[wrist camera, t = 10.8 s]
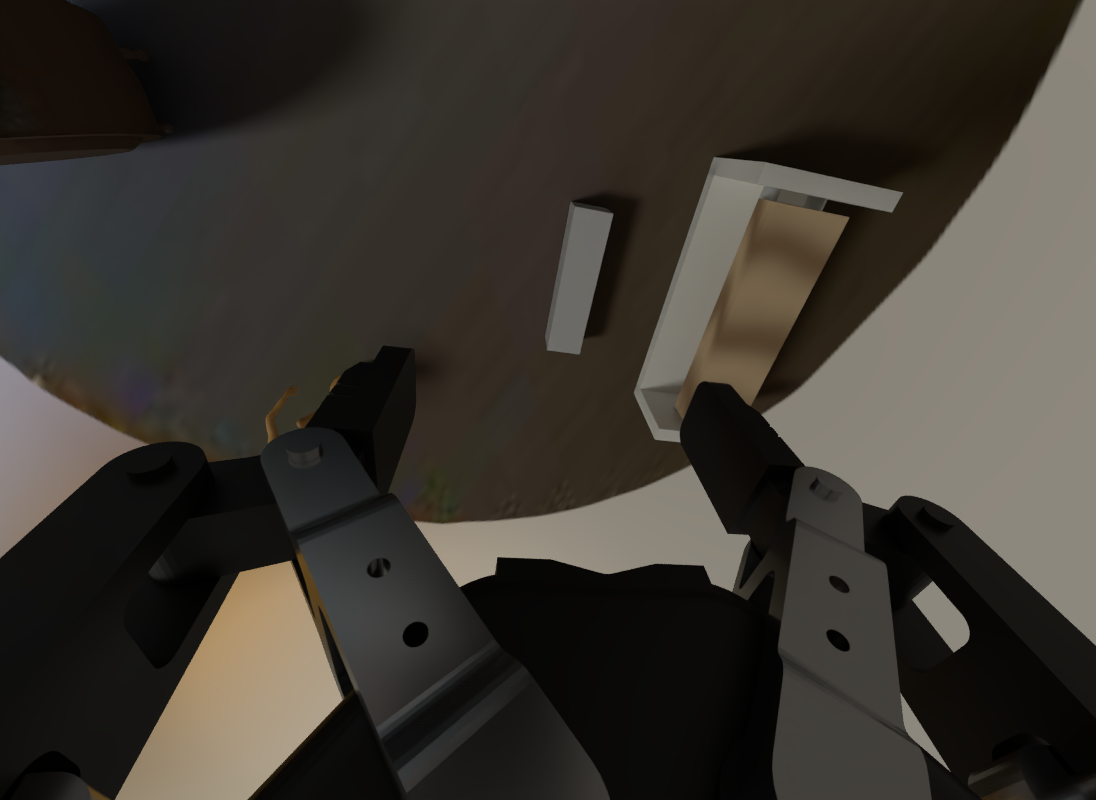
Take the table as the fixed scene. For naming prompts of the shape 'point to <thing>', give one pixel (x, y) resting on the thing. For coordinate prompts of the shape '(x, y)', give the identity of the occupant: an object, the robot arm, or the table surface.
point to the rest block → (577, 276)
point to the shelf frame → (724, 266)
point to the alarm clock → (67, 86)
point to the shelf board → (762, 296)
